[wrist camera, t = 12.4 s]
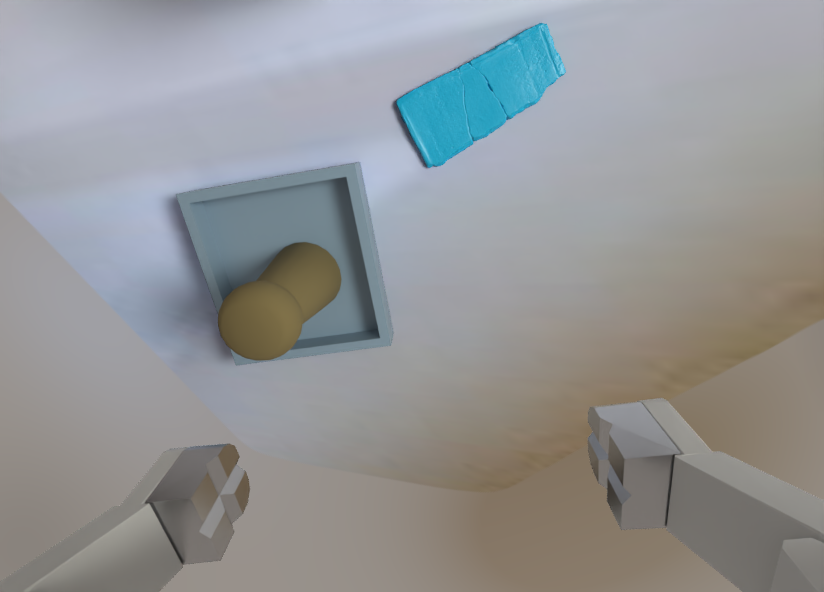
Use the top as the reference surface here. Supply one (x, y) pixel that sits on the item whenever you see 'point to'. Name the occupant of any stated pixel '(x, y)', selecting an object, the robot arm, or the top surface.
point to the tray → (292, 223)
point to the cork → (279, 302)
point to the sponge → (480, 95)
